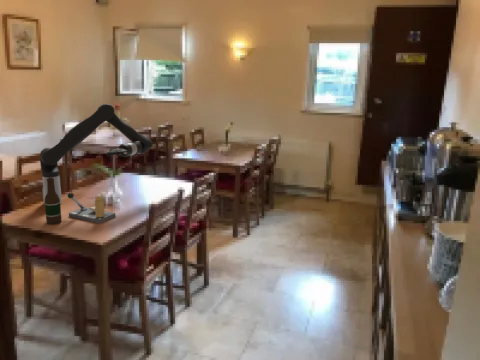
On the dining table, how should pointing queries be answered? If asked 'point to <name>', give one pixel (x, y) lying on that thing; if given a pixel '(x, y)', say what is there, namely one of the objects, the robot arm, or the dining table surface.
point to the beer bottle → (52, 204)
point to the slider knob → (99, 206)
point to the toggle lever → (75, 200)
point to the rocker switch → (92, 209)
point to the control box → (91, 215)
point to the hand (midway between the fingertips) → (108, 154)
